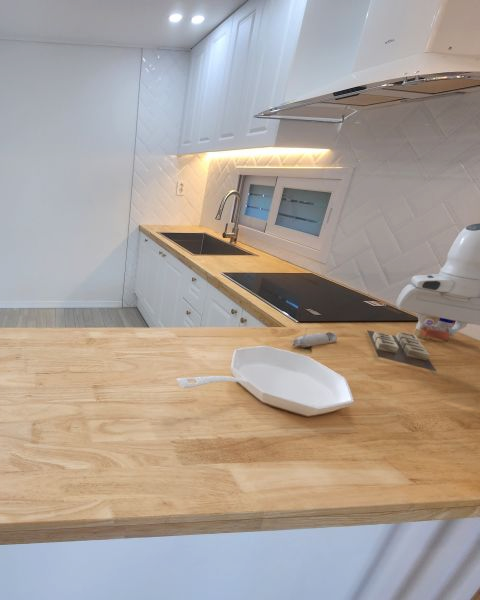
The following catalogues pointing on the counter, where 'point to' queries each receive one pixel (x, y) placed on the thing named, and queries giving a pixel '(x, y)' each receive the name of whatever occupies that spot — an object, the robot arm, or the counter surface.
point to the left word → (385, 342)
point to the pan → (284, 381)
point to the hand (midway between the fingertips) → (434, 331)
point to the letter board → (401, 355)
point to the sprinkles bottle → (430, 321)
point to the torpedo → (315, 339)
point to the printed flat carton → (412, 346)
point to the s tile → (436, 332)
